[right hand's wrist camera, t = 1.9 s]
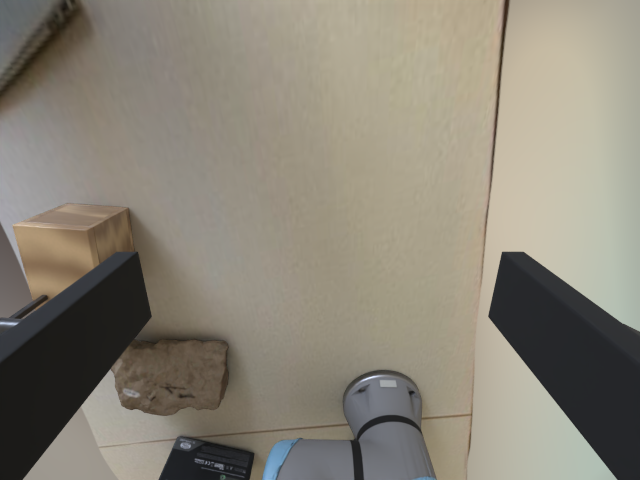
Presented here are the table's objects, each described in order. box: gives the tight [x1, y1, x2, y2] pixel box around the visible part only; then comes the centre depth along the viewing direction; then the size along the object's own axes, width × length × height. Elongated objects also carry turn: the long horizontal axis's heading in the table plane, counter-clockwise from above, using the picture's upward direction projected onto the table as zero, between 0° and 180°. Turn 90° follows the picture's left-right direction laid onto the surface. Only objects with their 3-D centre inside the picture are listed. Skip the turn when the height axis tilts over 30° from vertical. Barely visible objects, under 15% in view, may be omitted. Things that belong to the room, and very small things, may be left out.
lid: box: [0, 222, 99, 333], centre depth 43 cm, size 13×10×9 cm
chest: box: [21, 203, 134, 264], centre depth 52 cm, size 13×10×9 cm
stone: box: [111, 339, 228, 416], centre depth 62 cm, size 21×15×6 cm
